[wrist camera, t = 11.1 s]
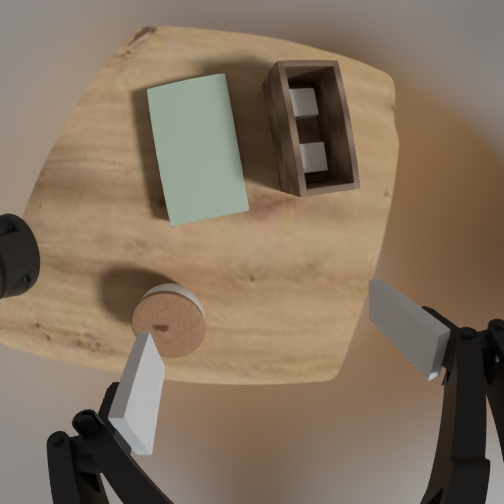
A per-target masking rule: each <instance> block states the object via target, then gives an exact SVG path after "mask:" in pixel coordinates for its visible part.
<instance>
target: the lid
mask: <svg viewBox="0 0 504 504" xmlns="http://www.w3.org/2000/svg"><path fill="white" fill-rule="evenodd" d="M147 95H148V102H149V110H150V117H151V123H152V130H153V136H154V142H155V148H156V154H157V160H158V165H159V171H160V176H161V181H162V186H163V191H164V196H165V201H166V205H167V210H168V215H169V219H170V224H171V226H176V225H180V224H185V223H189V222H194V221H199V220H204V219H209V218H214V217H219V216H224V215H229V214H234V213H239V212H244V211H249V206H248V200H247V194H246V189H245V183H244V177H243V171H242V166H241V160H240V154H239V149H238V143H237V137H236V132H235V126H234V121H233V115H232V109H231V104H230V98H229V93H228V87H227V81H226V76H225V73H222V74H215V75H209V76H204V77H198V78H193V79H188V80H183V81H179V82H174V83H170V84H166V85H162V86H158V87H154V88H150V89H147Z"/></svg>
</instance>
